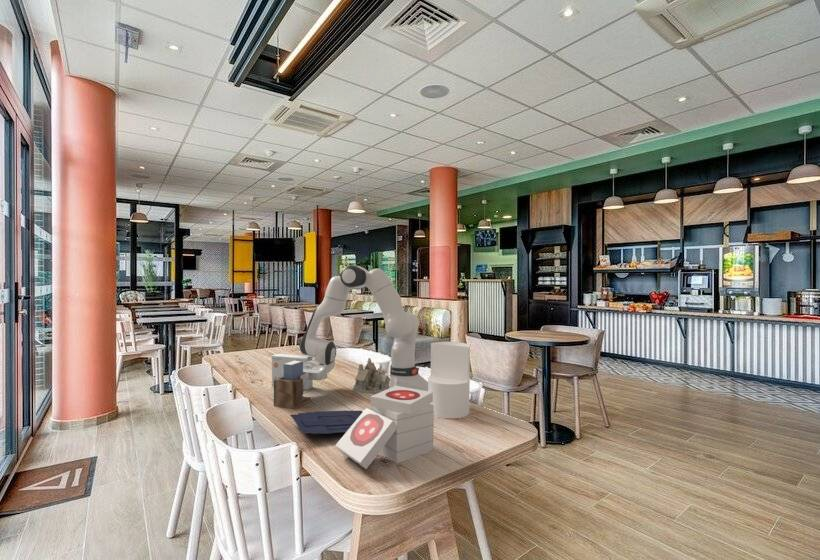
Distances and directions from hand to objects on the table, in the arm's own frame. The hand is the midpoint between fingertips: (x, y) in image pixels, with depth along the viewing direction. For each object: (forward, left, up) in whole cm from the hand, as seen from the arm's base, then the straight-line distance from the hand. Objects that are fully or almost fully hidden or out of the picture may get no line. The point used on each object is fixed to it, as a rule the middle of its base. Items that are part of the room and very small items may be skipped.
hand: (293, 377), depth 180 cm
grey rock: (-23, -32, -12) cm, 41 cm away
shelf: (0, +1, -11) cm, 11 cm away
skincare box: (+16, -21, -12) cm, 29 cm away
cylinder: (-68, -13, -12) cm, 70 cm away
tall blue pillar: (0, 0, -8) cm, 9 cm away
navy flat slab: (-32, +18, -12) cm, 39 cm away
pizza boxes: (-59, +32, -12) cm, 68 cm away
